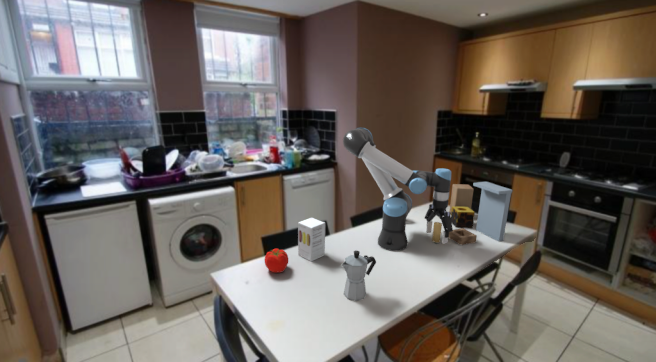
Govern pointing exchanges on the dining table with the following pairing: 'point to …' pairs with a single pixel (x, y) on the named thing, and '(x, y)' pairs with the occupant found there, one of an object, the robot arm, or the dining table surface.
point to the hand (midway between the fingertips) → (436, 237)
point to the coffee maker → (356, 275)
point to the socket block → (462, 236)
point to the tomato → (276, 260)
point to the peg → (437, 232)
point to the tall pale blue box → (493, 210)
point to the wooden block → (461, 196)
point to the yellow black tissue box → (462, 217)
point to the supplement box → (311, 239)
